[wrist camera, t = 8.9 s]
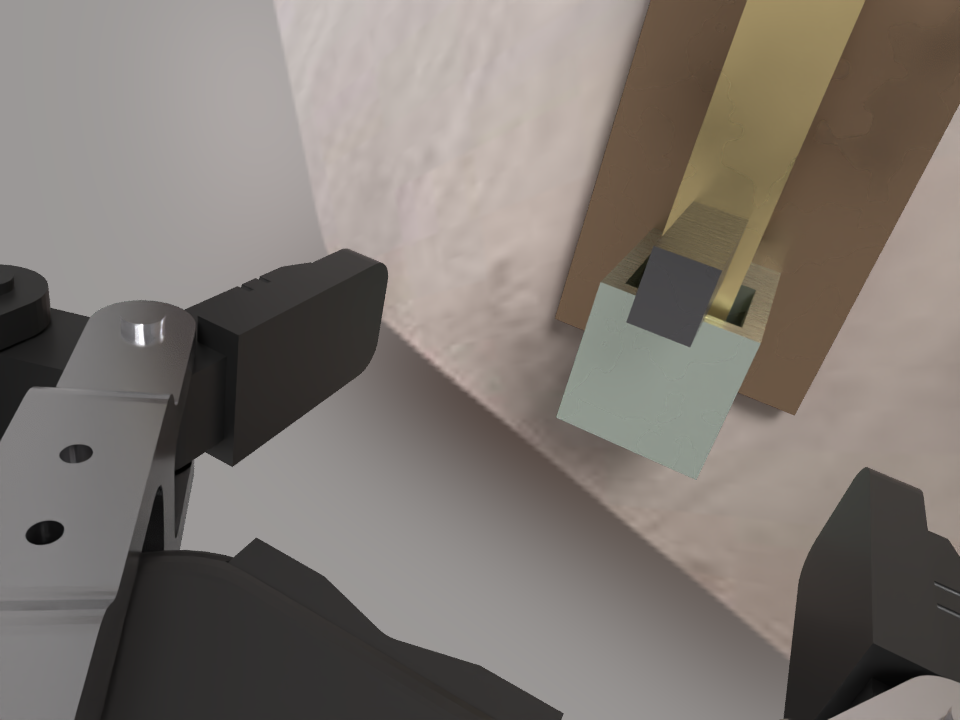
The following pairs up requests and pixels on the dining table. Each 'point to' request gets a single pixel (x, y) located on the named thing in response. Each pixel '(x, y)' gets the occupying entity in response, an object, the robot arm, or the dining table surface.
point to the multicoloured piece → (787, 238)
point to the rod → (741, 160)
